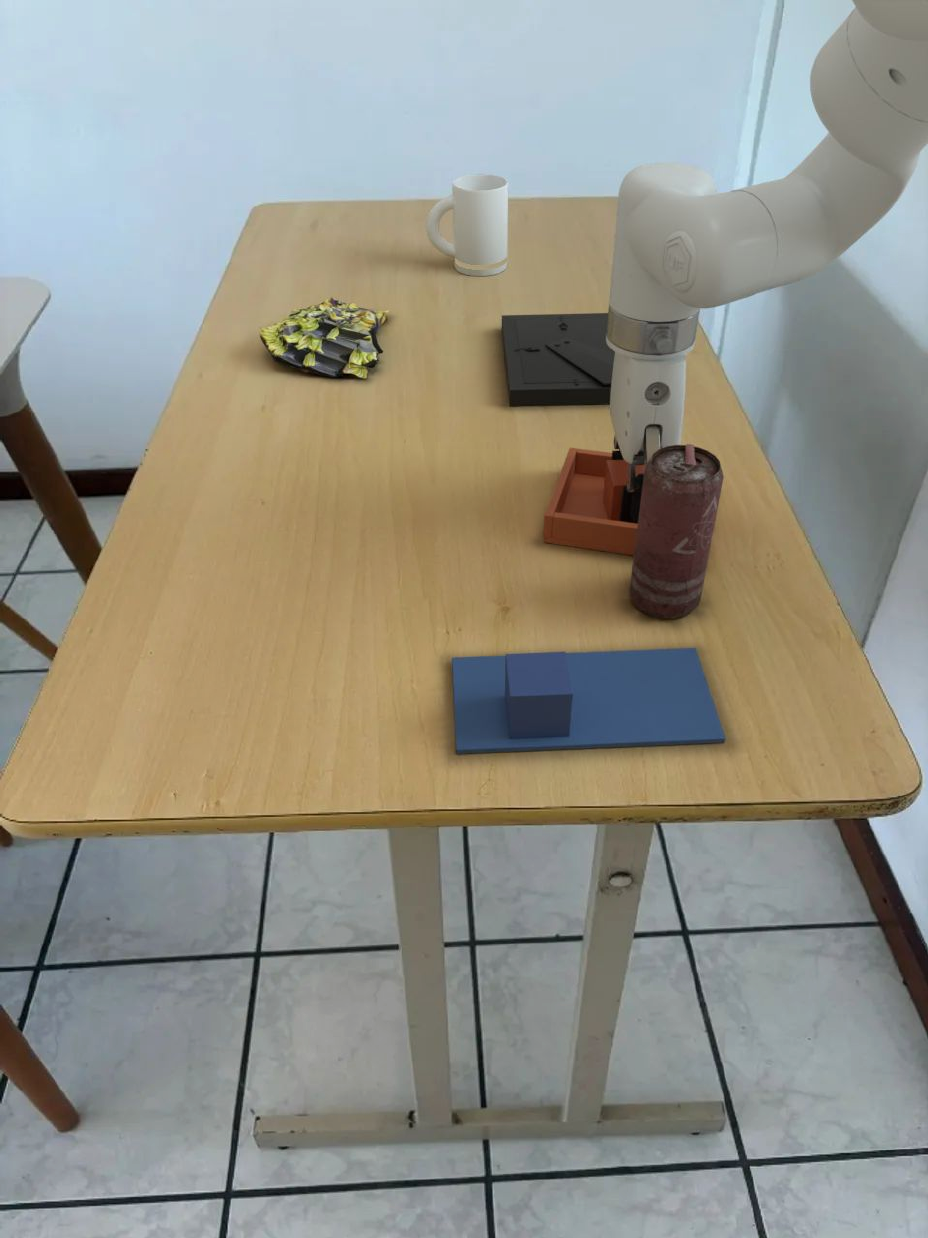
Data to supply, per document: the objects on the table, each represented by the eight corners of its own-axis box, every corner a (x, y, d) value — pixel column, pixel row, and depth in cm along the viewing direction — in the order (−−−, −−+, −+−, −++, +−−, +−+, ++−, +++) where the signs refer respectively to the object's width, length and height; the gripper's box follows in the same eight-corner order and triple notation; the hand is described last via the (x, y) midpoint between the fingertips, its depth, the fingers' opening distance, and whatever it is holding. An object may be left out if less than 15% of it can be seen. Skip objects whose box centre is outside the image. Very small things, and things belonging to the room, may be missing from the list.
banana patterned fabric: (311, 311, 134) (321, 266, 131) (416, 357, 133) (429, 312, 129) (239, 349, 118) (247, 298, 114) (358, 402, 116) (370, 352, 113)
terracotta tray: (710, 492, 97) (715, 465, 95) (699, 565, 88) (704, 538, 86) (568, 473, 100) (569, 447, 98) (543, 542, 91) (544, 515, 89)
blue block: (562, 693, 75) (565, 651, 72) (569, 736, 71) (573, 693, 68) (504, 696, 75) (505, 653, 72) (509, 739, 71) (510, 696, 68)
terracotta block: (647, 497, 95) (652, 458, 92) (656, 523, 92) (662, 483, 89) (602, 499, 95) (606, 459, 92) (609, 525, 92) (613, 485, 89)
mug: (427, 258, 147) (423, 175, 139) (504, 255, 147) (505, 172, 140) (429, 278, 141) (425, 193, 133) (509, 275, 141) (510, 189, 133)
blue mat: (694, 652, 79) (695, 647, 78) (724, 743, 71) (726, 738, 71) (452, 661, 78) (451, 657, 78) (456, 754, 71) (456, 749, 70)
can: (696, 577, 86) (720, 440, 77) (702, 623, 81) (729, 483, 72) (627, 574, 87) (644, 438, 78) (630, 619, 82) (648, 480, 73)
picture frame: (645, 403, 111) (620, 327, 127) (648, 380, 109) (622, 306, 125) (509, 406, 111) (501, 330, 127) (510, 383, 109) (501, 309, 125)
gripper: (720, 370, 75) (688, 556, 86) (674, 284, 88) (652, 456, 99) (624, 373, 74) (605, 559, 86) (593, 287, 87) (580, 459, 99)
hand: (630, 502), depth 93 cm, fingers open, 5 cm apart
